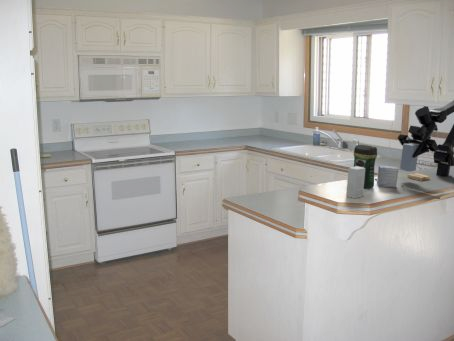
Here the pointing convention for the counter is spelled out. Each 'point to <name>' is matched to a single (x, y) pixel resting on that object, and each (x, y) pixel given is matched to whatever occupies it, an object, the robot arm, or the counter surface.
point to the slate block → (408, 157)
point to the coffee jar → (366, 162)
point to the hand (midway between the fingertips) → (407, 156)
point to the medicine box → (387, 176)
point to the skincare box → (355, 182)
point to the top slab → (418, 177)
